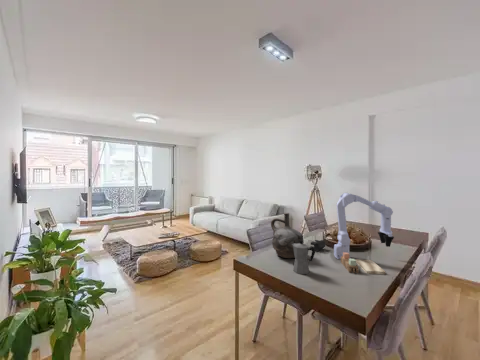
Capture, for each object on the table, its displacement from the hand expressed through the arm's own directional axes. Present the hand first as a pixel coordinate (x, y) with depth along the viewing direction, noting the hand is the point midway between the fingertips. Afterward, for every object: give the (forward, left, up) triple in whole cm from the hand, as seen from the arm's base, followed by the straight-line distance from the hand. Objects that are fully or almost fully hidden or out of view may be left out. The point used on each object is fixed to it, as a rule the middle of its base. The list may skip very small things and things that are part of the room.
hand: (385, 244), depth 151 cm
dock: (-16, -15, -10) cm, 24 cm away
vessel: (-64, 0, -10) cm, 65 cm away
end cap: (-40, +15, -10) cm, 44 cm away
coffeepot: (-57, -26, -10) cm, 64 cm away
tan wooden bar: (-28, -16, -10) cm, 34 cm away
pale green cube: (-28, -22, -6) cm, 36 cm away
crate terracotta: (-28, -11, -6) cm, 31 cm away
